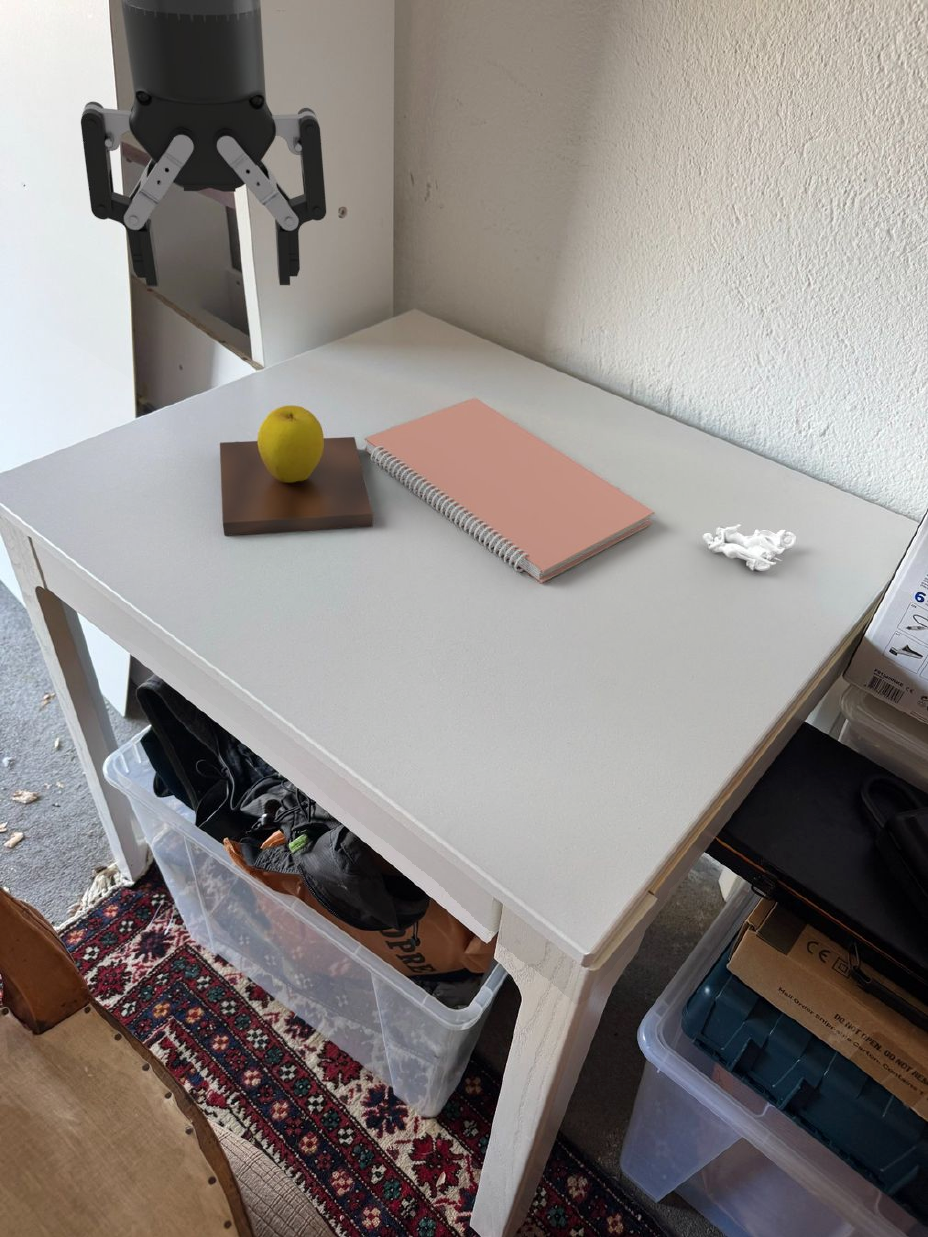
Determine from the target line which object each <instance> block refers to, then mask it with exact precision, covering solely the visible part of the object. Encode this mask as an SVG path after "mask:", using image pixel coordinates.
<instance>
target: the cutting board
mask: <svg viewBox="0 0 928 1237" xmlns="http://www.w3.org/2000/svg"><path fill="white" fill-rule="evenodd" d="M219 461H220V463H219V464H220V486H221V488H220V489H221V513H222V526H223V527H222V529H223V535H224V536H239V535H253V534H271V533H285V532H301V531H318V530H334V529H351V528H364V527H365V528H366V527H373V517H374V515H373V510H372V506H371V501H370V497H369V493H368V489H367V484H366V480H365V475H364V471H363V467H362V464H361V463H362V462H361V459H360V454H359V450H358V446H357V442H356V437H355V436H348V437H347V436H346V437H345V436H344V437H324V448H323V453H322V457H321V459H320V461H319V462H318V464H317V466H316V468H315V469H314V470H313V472H312V473H311V475H310V476H309V477H308V478H307V479H306V480H303V481H296V482H292V483H291V482H289V483H287V482H286V483H285V482H281V481H279V480H278V479H276V478H275V477H273V476H272V475H271V474H270V472H269V471H268V469H267V468H266V466H265V464H264V462H263V460H262V458H261V455H260V452H259V448H258V441H257V440H250V441H248V440H247V441H227V442H226V441H225V442H223V441H221V442H219Z"/></svg>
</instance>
